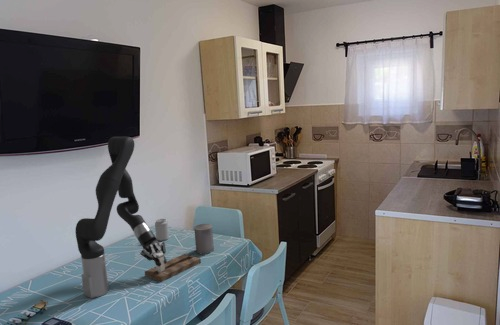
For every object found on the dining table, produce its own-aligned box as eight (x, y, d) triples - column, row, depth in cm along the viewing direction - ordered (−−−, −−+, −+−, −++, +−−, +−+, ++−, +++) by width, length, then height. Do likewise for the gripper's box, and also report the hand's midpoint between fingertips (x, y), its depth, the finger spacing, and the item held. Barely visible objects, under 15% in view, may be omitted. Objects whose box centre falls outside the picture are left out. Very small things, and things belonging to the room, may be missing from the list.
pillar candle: (199, 247, 217) (196, 221, 214) (216, 247, 215) (214, 221, 213) (193, 254, 207) (191, 227, 205) (211, 254, 206) (209, 227, 203)
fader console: (161, 282, 176) (160, 277, 175) (145, 275, 183) (144, 271, 183) (200, 262, 195) (200, 258, 195) (184, 257, 202) (184, 253, 202)
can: (166, 241, 229) (164, 221, 227) (154, 241, 231) (152, 221, 229) (171, 237, 236) (169, 218, 235) (159, 236, 238) (157, 218, 236)
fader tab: (161, 274, 181) (159, 255, 179) (156, 272, 183) (154, 254, 182) (165, 272, 183) (163, 253, 181) (160, 270, 185) (158, 252, 184)
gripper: (134, 234, 179) (153, 265, 173) (158, 226, 190) (177, 255, 184) (129, 243, 183) (147, 273, 178) (153, 234, 194) (171, 263, 188)
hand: (162, 264), depth 181 cm, fingers closed on fader tab, 2 cm apart
